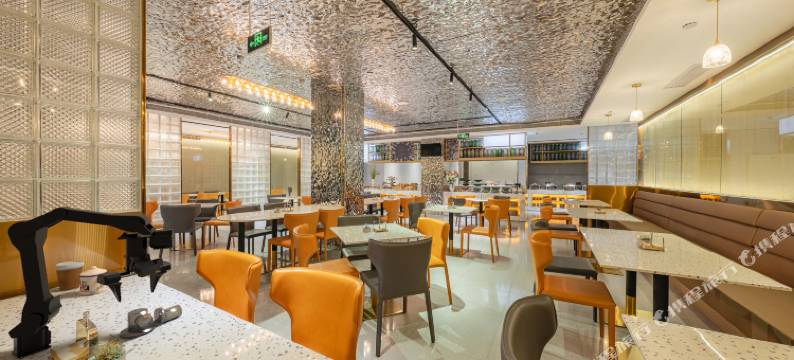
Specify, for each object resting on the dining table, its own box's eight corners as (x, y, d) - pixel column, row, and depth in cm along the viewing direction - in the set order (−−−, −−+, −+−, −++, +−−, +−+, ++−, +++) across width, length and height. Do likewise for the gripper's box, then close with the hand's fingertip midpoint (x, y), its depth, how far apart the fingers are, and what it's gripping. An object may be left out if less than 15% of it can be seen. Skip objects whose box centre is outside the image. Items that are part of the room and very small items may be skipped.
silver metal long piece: (128, 341, 96) (128, 323, 96) (114, 334, 100) (114, 318, 100) (185, 318, 112) (185, 303, 112) (171, 313, 116) (171, 299, 116)
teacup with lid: (74, 294, 134) (74, 268, 134) (100, 287, 143) (100, 262, 143) (89, 298, 130) (89, 271, 130) (115, 290, 139) (115, 265, 139)
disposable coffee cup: (87, 287, 143) (87, 262, 143) (57, 293, 135) (57, 267, 134) (81, 283, 148) (81, 259, 148) (52, 289, 140) (52, 263, 140)
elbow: (124, 330, 101) (124, 312, 101) (142, 323, 106) (142, 306, 106) (137, 336, 97) (138, 318, 97) (156, 329, 102) (156, 311, 102)
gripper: (113, 260, 90) (113, 312, 90) (180, 248, 107) (180, 291, 107) (95, 256, 95) (95, 305, 95) (162, 245, 112) (162, 286, 112)
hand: (136, 296), depth 102 cm, fingers open, 9 cm apart
